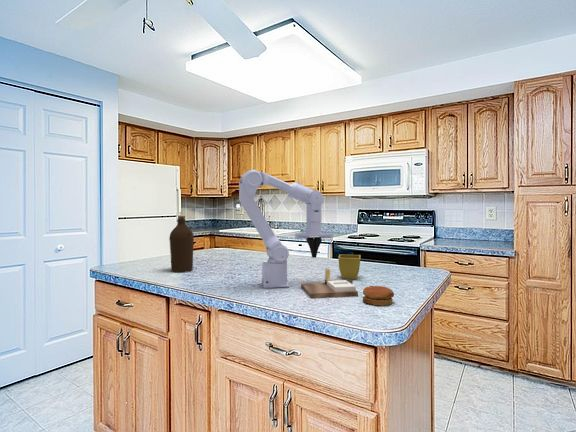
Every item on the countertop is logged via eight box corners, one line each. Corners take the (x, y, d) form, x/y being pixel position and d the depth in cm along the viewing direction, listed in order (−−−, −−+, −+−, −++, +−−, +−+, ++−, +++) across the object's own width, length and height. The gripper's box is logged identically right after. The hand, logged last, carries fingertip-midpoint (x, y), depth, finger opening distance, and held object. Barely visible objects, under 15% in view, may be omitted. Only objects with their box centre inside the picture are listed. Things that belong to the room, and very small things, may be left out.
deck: (310, 298, 115) (310, 293, 115) (301, 287, 130) (301, 283, 130) (357, 296, 118) (357, 291, 118) (343, 285, 133) (343, 281, 133)
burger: (386, 308, 105) (386, 292, 104) (357, 303, 110) (357, 288, 110) (398, 301, 112) (398, 286, 112) (370, 296, 118) (370, 282, 118)
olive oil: (196, 268, 169) (196, 215, 168) (189, 273, 158) (189, 216, 157) (174, 268, 169) (174, 215, 168) (166, 272, 158) (165, 216, 158)
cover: (335, 291, 118) (335, 286, 118) (326, 284, 127) (326, 279, 127) (355, 290, 119) (355, 285, 119) (345, 284, 129) (345, 278, 129)
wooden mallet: (353, 284, 127) (353, 270, 127) (325, 284, 128) (325, 270, 128) (351, 281, 132) (351, 268, 132) (324, 281, 132) (324, 268, 132)
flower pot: (360, 280, 142) (360, 258, 141) (338, 279, 143) (338, 257, 143) (360, 276, 150) (360, 254, 150) (339, 275, 152) (339, 254, 152)
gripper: (329, 221, 142) (329, 255, 143) (293, 221, 140) (293, 256, 140) (334, 222, 135) (334, 257, 136) (296, 222, 133) (296, 258, 133)
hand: (314, 257), depth 138 cm, fingers closed
